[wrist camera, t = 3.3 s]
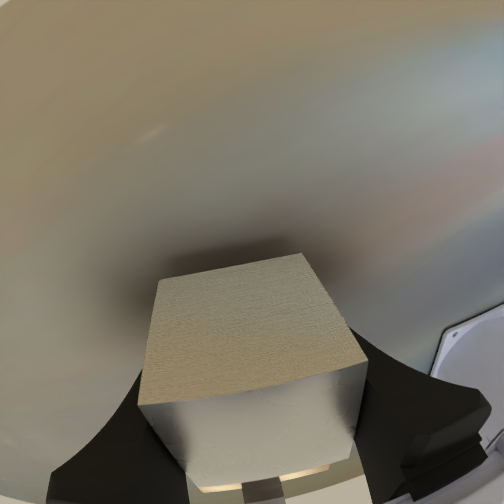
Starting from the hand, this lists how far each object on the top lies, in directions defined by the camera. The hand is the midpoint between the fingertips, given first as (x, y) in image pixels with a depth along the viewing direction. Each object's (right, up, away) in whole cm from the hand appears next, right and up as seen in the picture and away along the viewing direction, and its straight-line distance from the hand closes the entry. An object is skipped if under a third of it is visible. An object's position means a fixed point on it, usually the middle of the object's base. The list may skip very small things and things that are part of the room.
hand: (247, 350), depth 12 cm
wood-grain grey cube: (0, +1, +1) cm, 2 cm away
